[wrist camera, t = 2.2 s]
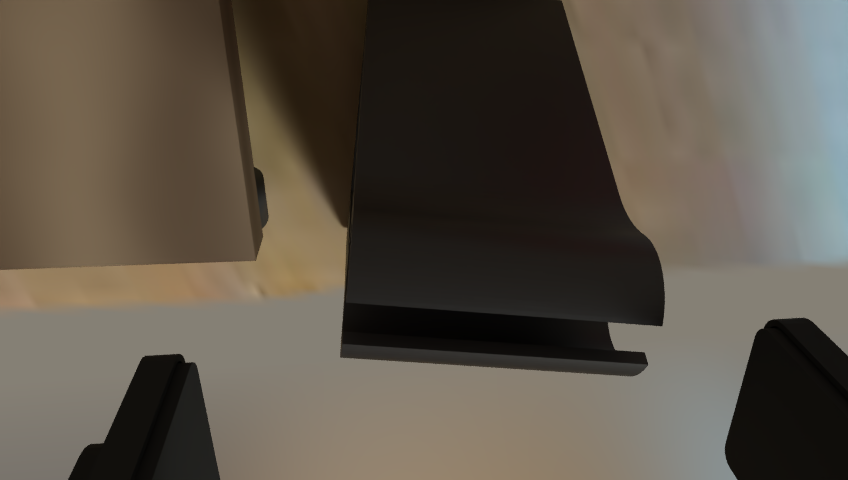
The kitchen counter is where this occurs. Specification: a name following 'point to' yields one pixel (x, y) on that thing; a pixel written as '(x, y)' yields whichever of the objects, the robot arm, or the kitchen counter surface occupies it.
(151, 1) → the trolley
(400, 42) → the phone stand
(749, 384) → the robot arm
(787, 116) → the kitchen counter surface
